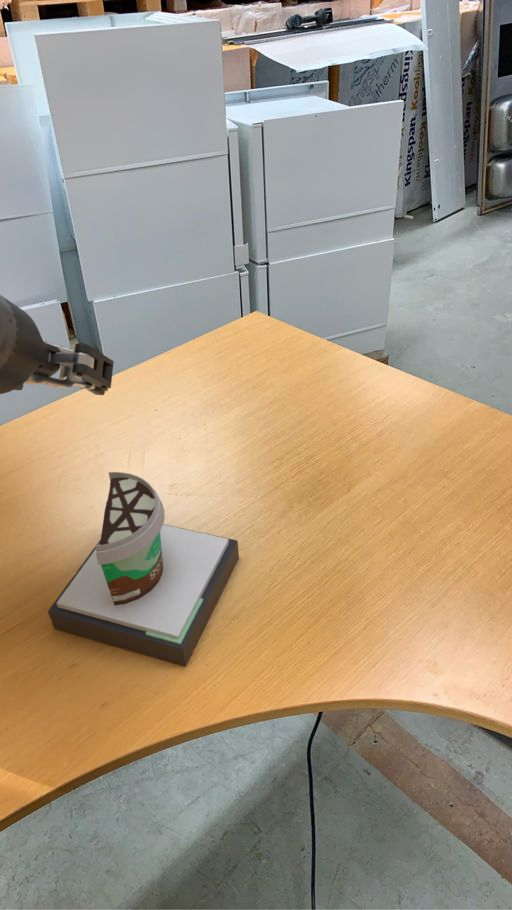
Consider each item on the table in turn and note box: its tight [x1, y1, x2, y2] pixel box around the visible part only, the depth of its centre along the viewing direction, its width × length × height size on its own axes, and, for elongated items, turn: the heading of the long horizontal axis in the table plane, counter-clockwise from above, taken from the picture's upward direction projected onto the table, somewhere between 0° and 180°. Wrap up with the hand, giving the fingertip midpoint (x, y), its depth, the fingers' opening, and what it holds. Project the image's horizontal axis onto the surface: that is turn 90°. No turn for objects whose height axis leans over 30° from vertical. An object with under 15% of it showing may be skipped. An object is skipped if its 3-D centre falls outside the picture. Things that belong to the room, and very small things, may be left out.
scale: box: [47, 523, 240, 667], centre depth 75 cm, size 16×16×4 cm
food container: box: [94, 471, 166, 605], centre depth 70 cm, size 12×6×10 cm, turn 3°
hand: (60, 382), depth 64 cm, fingers open, 8 cm apart
